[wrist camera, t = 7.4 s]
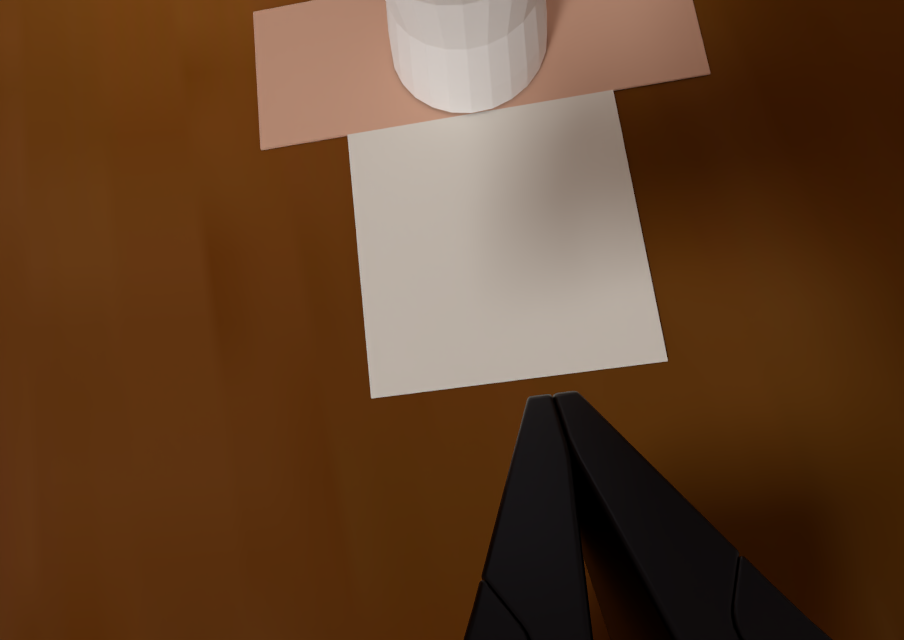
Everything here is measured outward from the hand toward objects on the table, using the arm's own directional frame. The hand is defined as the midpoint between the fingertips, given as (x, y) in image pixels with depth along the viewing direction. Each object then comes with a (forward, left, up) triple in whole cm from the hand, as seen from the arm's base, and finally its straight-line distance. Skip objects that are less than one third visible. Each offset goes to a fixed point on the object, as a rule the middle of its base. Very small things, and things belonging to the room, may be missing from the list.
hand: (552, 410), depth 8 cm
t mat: (+7, +9, -13) cm, 17 cm away
